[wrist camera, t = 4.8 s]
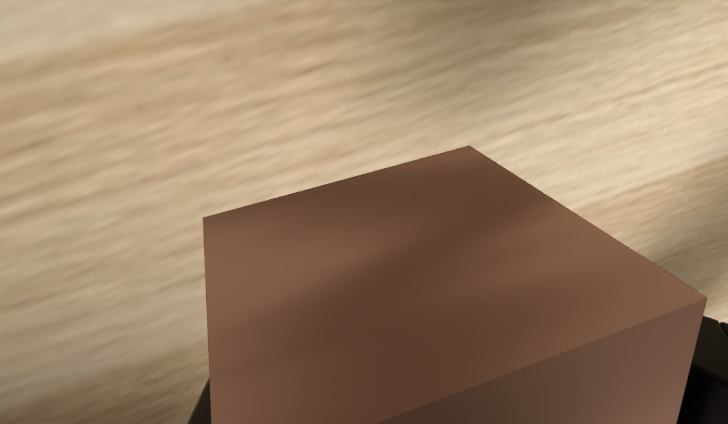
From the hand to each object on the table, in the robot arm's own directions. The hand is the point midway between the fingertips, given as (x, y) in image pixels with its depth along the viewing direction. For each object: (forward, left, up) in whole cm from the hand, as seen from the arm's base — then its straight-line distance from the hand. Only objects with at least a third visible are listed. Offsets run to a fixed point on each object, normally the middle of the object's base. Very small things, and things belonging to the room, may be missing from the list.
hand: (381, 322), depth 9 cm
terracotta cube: (0, 0, -1) cm, 1 cm away
